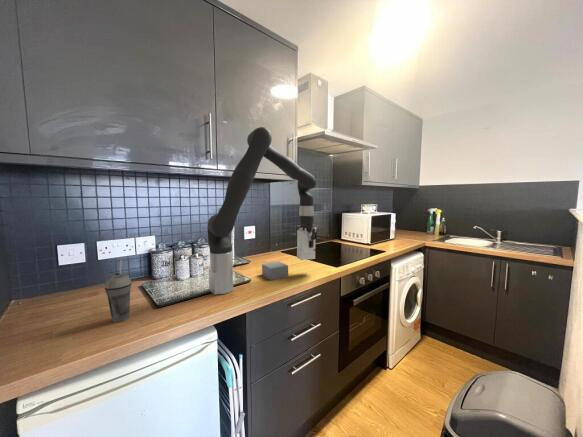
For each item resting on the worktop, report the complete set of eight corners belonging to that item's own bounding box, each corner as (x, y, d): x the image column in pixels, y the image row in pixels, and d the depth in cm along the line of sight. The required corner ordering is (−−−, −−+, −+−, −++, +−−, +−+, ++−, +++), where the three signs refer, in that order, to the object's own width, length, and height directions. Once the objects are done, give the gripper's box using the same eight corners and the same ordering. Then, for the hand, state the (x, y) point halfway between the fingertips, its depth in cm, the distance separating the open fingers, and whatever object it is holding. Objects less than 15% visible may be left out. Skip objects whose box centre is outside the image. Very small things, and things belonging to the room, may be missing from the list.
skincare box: (301, 260, 118) (301, 231, 117) (296, 257, 123) (296, 229, 122) (315, 258, 121) (316, 230, 120) (310, 256, 127) (310, 229, 126)
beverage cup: (105, 319, 78) (101, 260, 76) (131, 311, 83) (127, 256, 82) (108, 327, 73) (103, 264, 71) (136, 318, 78) (132, 260, 76)
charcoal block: (270, 280, 114) (270, 268, 114) (262, 275, 123) (261, 263, 122) (288, 276, 120) (288, 265, 119) (278, 271, 128) (278, 261, 127)
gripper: (292, 214, 124) (291, 245, 125) (311, 215, 113) (310, 249, 114) (302, 213, 128) (302, 243, 130) (321, 215, 117) (321, 247, 119)
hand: (306, 246), depth 122 cm, fingers closed on skincare box, 6 cm apart
